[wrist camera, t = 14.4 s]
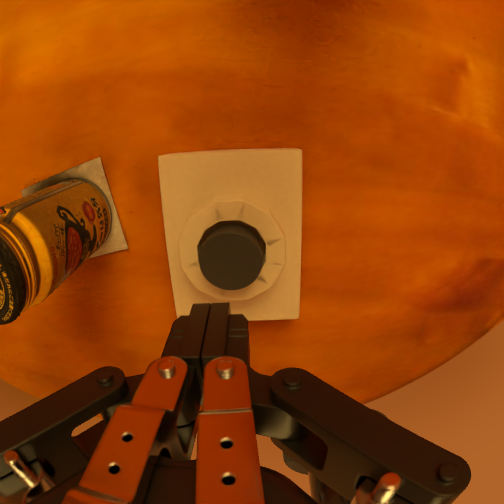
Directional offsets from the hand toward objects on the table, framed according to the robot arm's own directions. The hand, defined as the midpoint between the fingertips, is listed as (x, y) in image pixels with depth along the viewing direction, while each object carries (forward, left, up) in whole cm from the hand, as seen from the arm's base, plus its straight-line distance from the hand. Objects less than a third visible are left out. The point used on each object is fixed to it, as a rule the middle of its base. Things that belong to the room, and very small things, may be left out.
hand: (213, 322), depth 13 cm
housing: (0, 0, -11) cm, 11 cm away
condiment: (+2, +13, -11) cm, 17 cm away
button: (0, 0, -7) cm, 7 cm away
